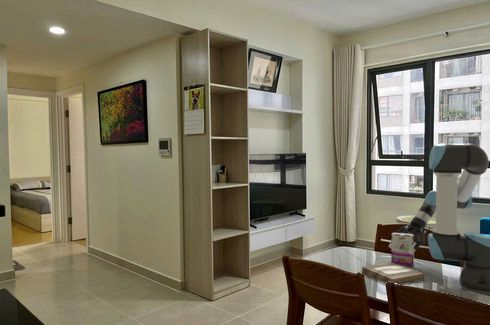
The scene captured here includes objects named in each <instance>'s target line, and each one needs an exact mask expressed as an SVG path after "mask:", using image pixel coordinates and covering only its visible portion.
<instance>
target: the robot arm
mask: <svg viewBox="0 0 490 325" xmlns="http://www.w3.org/2000/svg"><path fill="white" fill-rule="evenodd" d="M428 159H429V160H428V167H429V169H430V170H432V173H433V175H435V176H436V181H435V182H436V184H435V185H436V186H435V188H436V189H435V190H431V191H429V192H428V193H427V194H426V195H425V197H424V201H423V203H422V205H421V206H420V208H419V210H418V211H417V212H416V213H415V215H414V216H413V218H412V220H410V224H409V225H407V224H406V223H405V224H404V225H403V226H402V227H400V228H399V229H397V230H396V231H395V232H394V233H405V234H414V238H415V242H414V244H413V246H412V247H411V249H410V250H409V253H410V255H413V253H414V254H415V252H416V251H417V250H418V249H419V247H420V246H425V244H426V235H427V245H428V249H429V253H430V256H431V257H432V258H433V259H435V260H442V261H455V262H463V267H462V270H461V272H460V274H459V278H458V279H459V283H460V284H461V285H463V286H465V287H467V288H470V289H473V290H478V291H488V292H489V291H490V235H489V236H488V235H485V234H483V233H478V232H477V233H476V232H472V231H471V232H469V231H465V232H464V233H463V235H461V231H460V230H459V229H458V226H457V225H458V223H457V222H458V221H457V220H458V217H457V216H458V213H457V212H458V209H462V210H465V209H466V210H467V209H471V208H472V206H473V197H472V194H473V191H474V190H475V188H476V185H477V184H478V182H479V180H480V178H481V177H482V175H483V174H485V173H487V172H486V171H487V170H488V167H489V164H490V163H489V157H488V154H487V153H486V151H485V150H484V149H483V148H481V147H480V145H477V144H473V143H438V144H435V145H433V146H432V147H431V150H430V154H429V158H428ZM459 176H460V177H459ZM458 178H459V179H458ZM434 215H435V226H434V227H433V228H432V229H431V233H428V231H427V230H426V226H427V225H428V224H429V222H430V220H432V217H433V216H434ZM427 233H428V234H427ZM388 248H390V249H391V242H390V243H389V245H388Z"/></svg>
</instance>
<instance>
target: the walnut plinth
mask: <svg viewBox="0 0 490 325" xmlns="http://www.w3.org/2000/svg"><path fill="white" fill-rule="evenodd" d="M361 273H362V274H364V275H366V276H369V277H371V278H373V279H375V280H378V281H380V282H383V283H385V284H387V283H386V282H388V281H391V282H394V283H397V284H399V285H403V284H408V283H414V282H415V283H416V282H419V281H424V280H425V273H423V272H421V271H418V270H415V269H412V268H410V267H407V266H405V265H401V264H396V263H393V262H391V261H390V262H385V263H384V262H383V263H379V264H378V263H377V264H372V265H371V264H370V265H365V266H362V267H361Z"/></svg>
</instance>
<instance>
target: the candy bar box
mask: <svg viewBox="0 0 490 325" xmlns="http://www.w3.org/2000/svg"><path fill="white" fill-rule="evenodd" d="M390 236H391V238H390V240H391V242H390V243H391V248H390V249H391V257H390V258H391V261H390V262H393V263H396V264H399V265H402V266H410V267H414V265H415V252H414V253H413V255H410V253H409V250H410V249H411V247H412V246H413V244H414V243H415V235H414V234H405V233H395V232H392V233H391V235H390Z"/></svg>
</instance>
